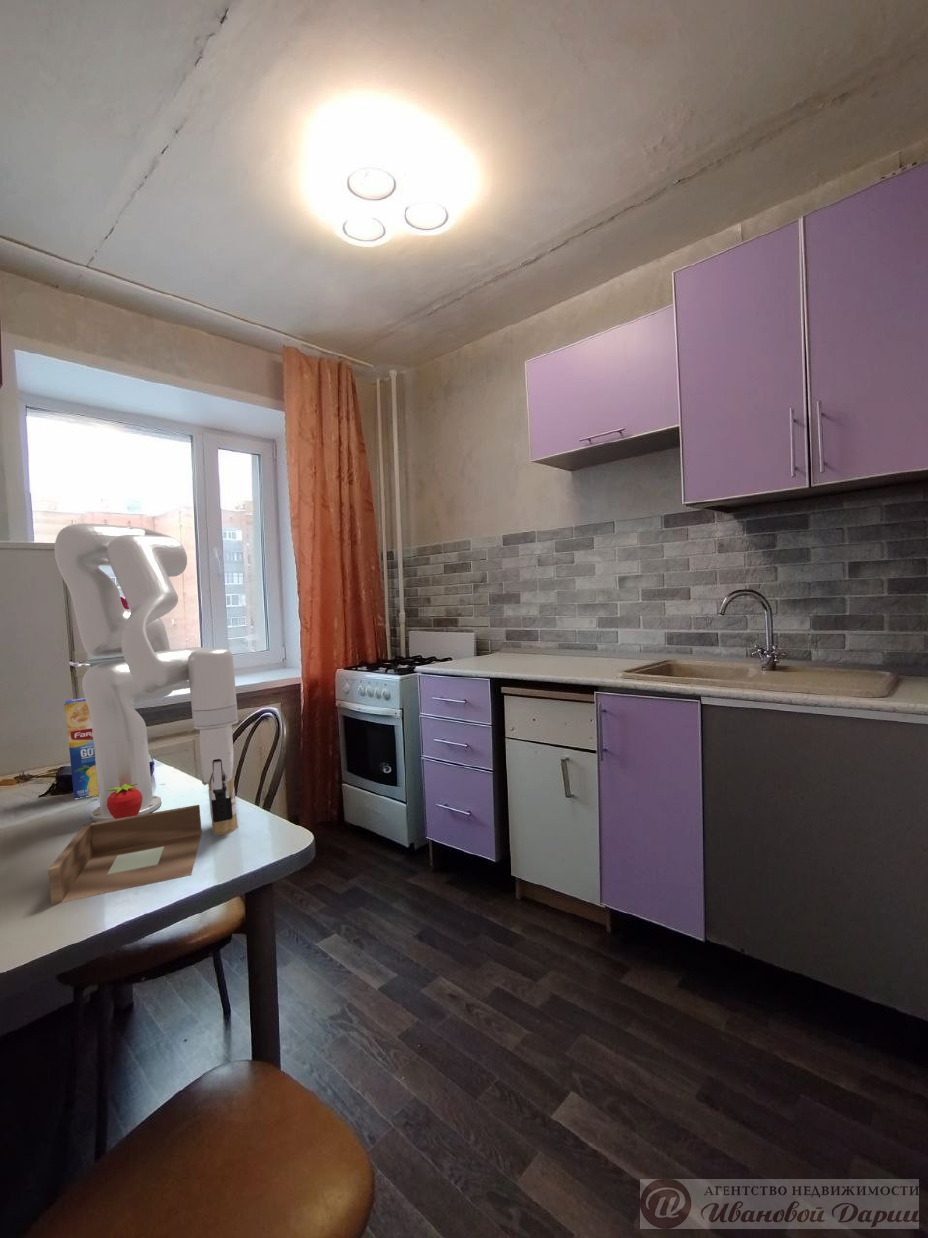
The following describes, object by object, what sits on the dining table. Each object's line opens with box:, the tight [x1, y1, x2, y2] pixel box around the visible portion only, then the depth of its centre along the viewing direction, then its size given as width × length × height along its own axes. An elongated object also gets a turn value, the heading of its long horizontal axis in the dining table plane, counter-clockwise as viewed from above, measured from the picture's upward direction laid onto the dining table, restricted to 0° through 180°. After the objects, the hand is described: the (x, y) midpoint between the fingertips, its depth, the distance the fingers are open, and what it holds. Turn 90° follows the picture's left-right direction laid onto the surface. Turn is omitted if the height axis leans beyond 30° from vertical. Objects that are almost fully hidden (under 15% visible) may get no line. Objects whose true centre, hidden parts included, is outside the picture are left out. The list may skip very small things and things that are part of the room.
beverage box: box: [64, 697, 99, 799], centre depth 134 cm, size 7×11×22 cm, turn 123°
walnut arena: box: [47, 804, 203, 905], centre depth 92 cm, size 18×18×6 cm
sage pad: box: [107, 847, 164, 875], centre depth 93 cm, size 7×7×1 cm
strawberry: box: [106, 778, 143, 819], centre depth 109 cm, size 6×8×10 cm
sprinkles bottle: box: [208, 760, 239, 836], centre depth 104 cm, size 5×5×14 cm
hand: (223, 814), depth 104 cm, fingers closed on sprinkles bottle, 4 cm apart
